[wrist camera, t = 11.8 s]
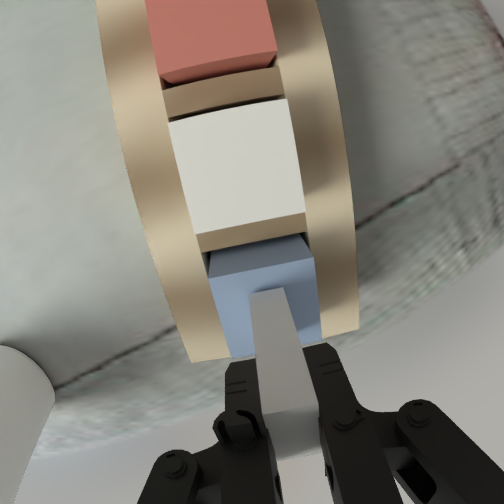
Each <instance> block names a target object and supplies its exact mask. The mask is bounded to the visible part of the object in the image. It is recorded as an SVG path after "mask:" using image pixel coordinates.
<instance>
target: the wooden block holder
mask: <svg viewBox="0 0 504 504" xmlns="http://www.w3.org/2000/svg"><path fill="white" fill-rule="evenodd" d="M266 3H267V7H268V11H269V15H270V19H271V23H272V27H273V32H274V36H275V40H276V45H277V49H278V51H277V53H276V54H275V56H274V57H273V59H272V60H271V62H270V63H269V65H268V66H267V68H265V69H259V70H253V71H247V72H241V73H235V74H230V75H225V76H220V77H215V78H211V79H206V80H202V81H197V82H193V83H189V84H185V85H181V86H177V87H174V85H172V84H171V83H169V82H168V81H166V80H165V79H163V78H162V77H160V76H159V75H158V72H157V67H156V61H155V56H154V51H153V45H152V40H151V34H150V29H149V23H148V17H147V11H146V5H145V0H96V8H97V17H98V25H99V32H100V39H101V46H102V52H103V59H104V65H105V71H106V76H107V82H108V87H109V92H110V97H111V102H112V107H113V112H114V117H115V122H116V126H117V131H118V135H119V139H120V144H121V148H122V152H123V156H124V160H125V164H126V168H127V172H128V176H129V179H130V183H131V187H132V191H133V194H134V198H135V201H136V205H137V208H138V212H139V215H140V219H141V222H142V225H143V229H144V232H145V235H146V239H147V242H148V245H149V248H150V251H151V254H152V257H153V261H154V264H155V267H156V270H157V273H158V276H159V278H160V281H161V284H162V287H163V290H164V293H165V296H166V299H167V301H168V304H169V307H170V310H171V312H172V315H173V318H174V320H175V323H176V326H177V328H178V331H179V333H180V336H181V339H182V341H183V344H184V346H185V349H186V351H187V354H188V356H189V359H190V361H191V363H194V362H201V361H208V360H214V359H221V358H227V357H231V354H230V351H229V348H228V345H227V342H226V338H225V335H224V332H223V328H222V325H221V322H220V318H219V315H218V312H217V308H216V305H215V301H214V298H213V294H212V291H211V287H210V284H209V280H208V275H209V267H210V259H211V252H212V250H217V249H221V248H226V247H231V246H236V245H241V244H246V243H251V242H256V241H261V240H266V239H270V238H275V237H280V236H285V235H290V234H295V233H299V234H300V235H301V237H302V239H303V240H304V242H305V244H306V245H307V247H308V248H309V250H310V252H311V254H312V255H313V257H314V264H315V272H316V281H317V290H318V299H319V309H320V319H321V330H322V338H326V337H330V336H334V335H338V334H342V333H346V332H350V331H354V330H357V329H359V293H358V269H357V251H356V237H355V224H354V212H353V202H352V192H351V183H350V174H349V166H348V159H347V151H346V144H345V137H344V130H343V124H342V118H341V112H340V106H339V100H338V95H337V89H336V84H335V79H334V74H333V69H332V64H331V60H330V55H329V50H328V46H327V42H326V37H325V33H324V29H323V25H322V21H321V17H320V13H319V9H318V6H317V2H316V0H266ZM281 99H287V101H288V106H289V111H290V117H291V122H292V128H293V133H294V139H295V144H296V150H297V156H298V162H299V168H300V174H301V181H302V187H303V194H304V200H305V207H306V212H303V213H298V214H293V215H288V216H283V217H277V218H272V219H267V220H262V221H257V222H253V223H248V224H243V225H238V226H233V227H228V228H223V229H219V230H214V231H209V232H204V233H200V234H194V231H193V227H192V223H191V219H190V215H189V211H188V207H187V204H186V200H185V196H184V192H183V188H182V184H181V179H180V175H179V171H178V167H177V163H176V159H175V154H174V150H173V146H172V141H171V137H170V132H169V128H168V123H170V122H174V121H177V120H181V119H184V118H188V117H192V116H197V115H201V114H205V113H210V112H214V111H219V110H224V109H228V108H233V107H238V106H244V105H249V104H255V103H261V102H267V101H274V100H281Z"/></svg>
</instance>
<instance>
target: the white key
mask: <svg viewBox="0 0 504 504" xmlns="http://www.w3.org/2000/svg"><path fill="white" fill-rule="evenodd" d="M168 128H169V132H170V137H171V141H172V146H173V150H174V154H175V159H176V163H177V167H178V171H179V175H180V179H181V184H182V188H183V192H184V196H185V200H186V204H187V207H188V211H189V215H190V219H191V223H192V227H193V231H194V234H200V233H204V232H209V231H214V230H219V229H223V228H228V227H233V226H238V225H243V224H248V223H253V222H257V221H262V220H267V219H272V218H277V217H283V216H288V215H293V214H298V213H303V212H306V207H305V200H304V194H303V187H302V181H301V174H300V168H299V162H298V156H297V150H296V144H295V139H294V133H293V128H292V122H291V117H290V111H289V106H288V101H287V99H281V100H274V101H268V102H262V103H256V104H251V105H245V106H240V107H235V108H230V109H225V110H220V111H215V112H211V113H206V114H202V115H198V116H193V117H189V118H185V119H181V120H177V121H174V122H170V123H168Z"/></svg>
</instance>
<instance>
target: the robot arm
mask: <svg viewBox="0 0 504 504" xmlns="http://www.w3.org/2000/svg"><path fill="white" fill-rule="evenodd" d="M249 303H250V312H251V321H252V330H253V339H254V347H255V356H256V358H255V359H250V360H244V361H238V362H232V363H230V365H229V367H228V369H227V370H226V372H225V411H224V412H222V413H221V414H220V415H219V416H218V417H217V418H216V420H215V421H214V424H213V430H214V432H215V434H216V436H217V438H218V440H219V441H218V442H217V443H216V444H215V445H213V446H212V447H210V448H208V449H205V450H202V451H200V452H197V453H194V454H191V453H189V452H188V451H184V450H171V451H168V452H165V453H164V454H162V455H161V456H160V457H158V459H157V460H156V462H155V463H154V465H153V468H152V470H151V472H150V475H149V477H148V479H147V482H146V484H145V486H144V489H143V491H142V493H141V496H140V498H139V500H138V502H137V504H284V502H283V497H282V489H281V482H280V476H279V473H278V469H277V461H283V460H288V459H294V458H298V457H303V456H308V455H313V454H317V453H321V452H323V456H324V460H325V476H327V477H328V481H329V485H330V489H331V494H332V497H333V501H334V504H403V501H402V498H401V496H400V493H399V490H398V488H397V485H396V483H395V480H394V478H395V479H396V480H397V482H398V483H399V484H400V485H401V487H402V488H403V489H404V491H405V492H406V493H407V494H408V496H409V497H410V498H411V500H412V501H413V502H414V503H415V504H504V471H503V470H502V469H501V468H499V466H498V465H497V464H496V463H495V462H494V461H493V460H491V459H490V457H489V456H488V455H487V454H486V453H485V452H483V451H482V450H481V449H480V448H479V447H478V446H477V445H476V444H475V443H474V442H473V441H472V440H471V439H470V438H469V437H468V436H467V435H466V434H465V433H464V432H463V431H462V430H461V429H460V428H459V427H458V426H457V425H456V424H455V423H454V422H453V421H452V420H451V419H450V418H449V417H448V416H447V415H446V414H445V413H444V412H442V411H441V410H440V409H439V408H438V407H437V406H436V405H435V404H433V403H432V402H430V401H427V400H423V399H419V400H412V401H409V402H407V403H405V404H404V405H403V406H402V407H401V408H400V409H399V411H398V412H374V411H370V410H368V409H366V408H364V407H363V406H361V405H360V404H359V402H358V401H357V399H356V397H355V394H354V392H353V389H352V387H351V384H350V382H349V380H348V377H347V375H346V373H345V371H344V368H343V366H342V363H341V362H340V358H339V356H338V354H337V351H336V350H335V349H334V348H333V347H332V346H330V345H329V344H328V343H327V342H326V343H322V344H318V345H313V346H309V347H305V348H302V347H301V344H300V340H299V337H298V334H297V331H296V327H295V324H294V321H293V318H292V314H291V311H290V308H289V305H288V301H287V298H286V295H285V292H284V289H283V287H281V288H276V289H272V290H267V291H262V292H257V293H252V294H249ZM393 476H394V477H393Z"/></svg>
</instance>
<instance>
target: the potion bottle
mask: <svg viewBox="0 0 504 504" xmlns="http://www.w3.org/2000/svg"><path fill="white" fill-rule="evenodd" d="M54 403H55V393H54V389H53V387H52V385H51V382H50V380H49V379H48V377H47V376H46V374H45V373H44V372H43V370H42V369H41V368H40V367H39V366H38V365H37V364H36V363H35V362H34V361H33V360H32V359H30V358H29V357H28V356H26V355H25V354H24V353H22V352H20V351H18V350H16V349H14V348H11V347H7V346H3V345H1V346H0V504H13V503H14V500H15V497H16V494H17V491H18V489H19V486H20V483H21V481H22V478H23V475H24V473H25V470H26V468H27V465H28V463H29V460H30V458H31V455H32V453H33V450H34V448H35V446H36V443H37V441H38V439H39V436H40V434H41V432H42V429H43V427H44V425H45V423H46V421H47V418H48V416H49V414H50V412H51V410H52V408H53V405H54Z"/></svg>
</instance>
